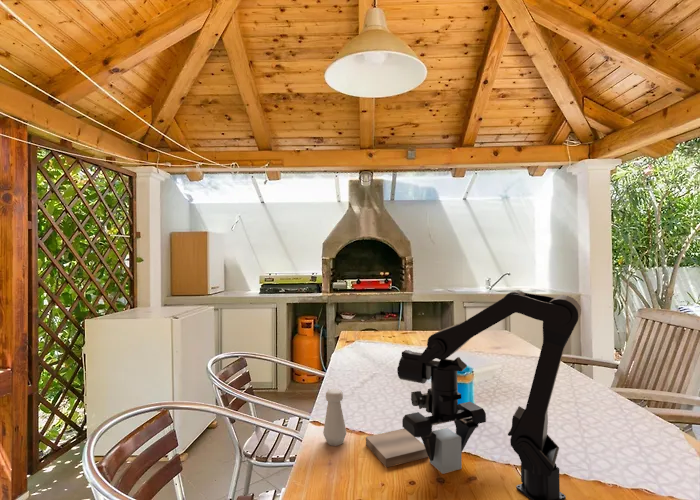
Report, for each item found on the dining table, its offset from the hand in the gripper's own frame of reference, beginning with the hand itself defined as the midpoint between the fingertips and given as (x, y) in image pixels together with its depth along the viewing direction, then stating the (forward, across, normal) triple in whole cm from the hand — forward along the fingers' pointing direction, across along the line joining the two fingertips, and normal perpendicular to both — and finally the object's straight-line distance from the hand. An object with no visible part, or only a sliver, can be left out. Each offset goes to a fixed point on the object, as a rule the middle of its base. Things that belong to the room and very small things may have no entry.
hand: (445, 456), depth 90 cm
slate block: (+2, 0, 0) cm, 2 cm away
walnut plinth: (+2, +7, -10) cm, 12 cm away
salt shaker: (+2, +19, -20) cm, 28 cm away
